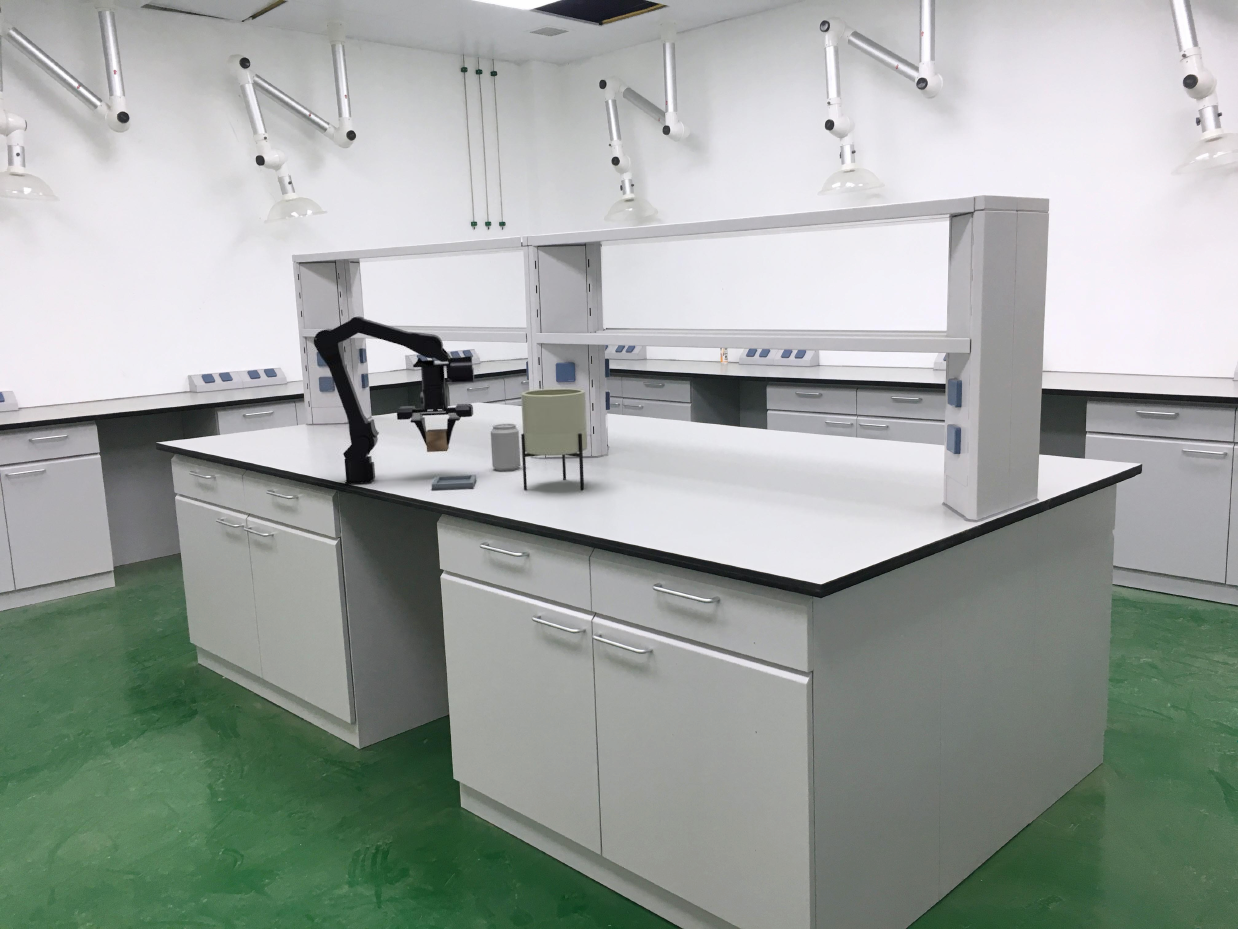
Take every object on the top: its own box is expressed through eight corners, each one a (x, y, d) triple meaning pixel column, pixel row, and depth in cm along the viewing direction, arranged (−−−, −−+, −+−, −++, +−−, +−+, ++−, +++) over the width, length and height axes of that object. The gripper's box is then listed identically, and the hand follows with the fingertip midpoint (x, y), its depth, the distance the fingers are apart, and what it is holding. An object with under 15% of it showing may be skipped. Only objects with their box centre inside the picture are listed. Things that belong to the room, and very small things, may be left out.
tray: (431, 490, 236) (431, 484, 236) (436, 482, 246) (436, 476, 245) (473, 488, 237) (472, 482, 236) (476, 480, 246) (476, 474, 246)
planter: (516, 484, 240) (511, 391, 236) (577, 478, 246) (573, 386, 241) (532, 496, 226) (528, 397, 222) (597, 489, 232) (593, 392, 227)
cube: (427, 452, 248) (425, 432, 247) (429, 448, 253) (428, 429, 252) (446, 451, 248) (445, 431, 247) (448, 447, 253) (447, 428, 252)
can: (494, 472, 256) (492, 427, 254) (490, 467, 263) (488, 423, 261) (523, 470, 258) (520, 425, 256) (518, 465, 265) (515, 421, 263)
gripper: (473, 379, 256) (476, 438, 259) (401, 382, 255) (405, 441, 257) (469, 384, 245) (473, 445, 248) (394, 387, 244) (399, 448, 246)
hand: (437, 445), depth 250 cm, fingers closed on cube, 5 cm apart
